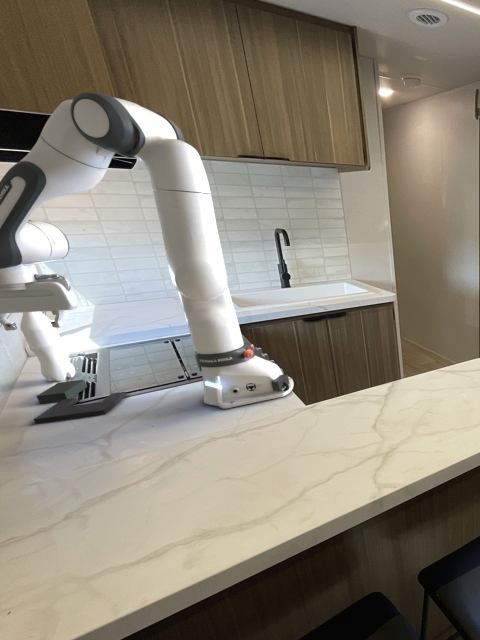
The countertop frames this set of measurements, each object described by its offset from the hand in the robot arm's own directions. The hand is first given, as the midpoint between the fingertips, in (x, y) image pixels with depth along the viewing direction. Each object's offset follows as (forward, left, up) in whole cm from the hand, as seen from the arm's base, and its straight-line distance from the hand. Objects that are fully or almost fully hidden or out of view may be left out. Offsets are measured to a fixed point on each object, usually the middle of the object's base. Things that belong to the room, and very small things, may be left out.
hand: (35, 328), depth 106 cm
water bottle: (+10, -18, -20) cm, 29 cm away
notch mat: (-8, +11, -20) cm, 24 cm away
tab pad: (+2, -2, -20) cm, 20 cm away
